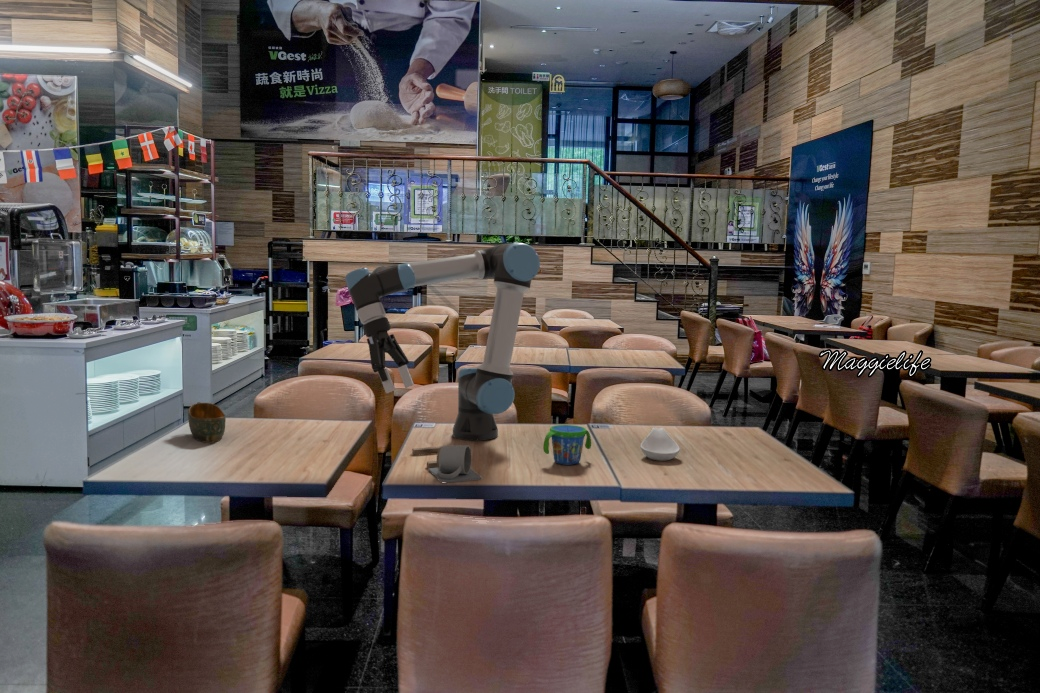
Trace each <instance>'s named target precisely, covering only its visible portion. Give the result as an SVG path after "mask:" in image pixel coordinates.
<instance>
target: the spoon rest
mask: <svg viewBox="0 0 1040 693" xmlns="http://www.w3.org/2000/svg"><path fill="white" fill-rule="evenodd" d="M639 447H640V450H641V452H642V453H643V454H644V456H646V457H647V458H648V459H650V460H653V461H658V462H659V461H660V462H665V461H666V462H667V461H670V460H672V459H675V457H677V455H678V454H680V451H681V447H680V446H679V444H678V443H677V442H676V441H675V440H674V439H673V438H672V437H671V436H670V435H669V433H668V432H667V431H666V430H665V428H664V427H661V428H657V427H652V428H651V431H650V432H649V433H648V435H647V436H646V437H645V438H644V439H643V440H642V441H641V443H640V446H639Z"/></svg>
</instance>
